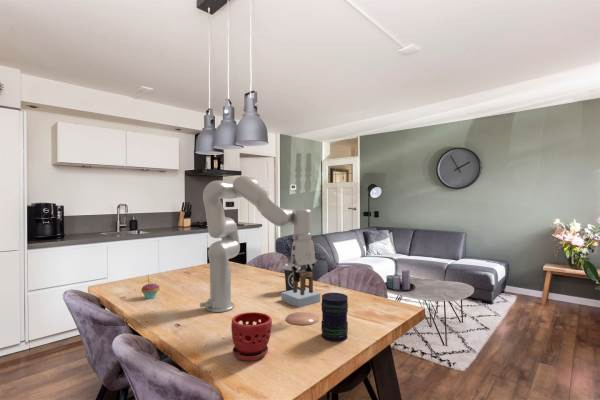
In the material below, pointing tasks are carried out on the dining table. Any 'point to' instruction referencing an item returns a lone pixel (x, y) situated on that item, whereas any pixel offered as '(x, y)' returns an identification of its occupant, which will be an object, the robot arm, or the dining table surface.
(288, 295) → the step
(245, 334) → the plant pot
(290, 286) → the coffee cup
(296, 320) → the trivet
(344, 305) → the storage jar
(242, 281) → the dining table surface
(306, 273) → the stool
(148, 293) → the cupcake
